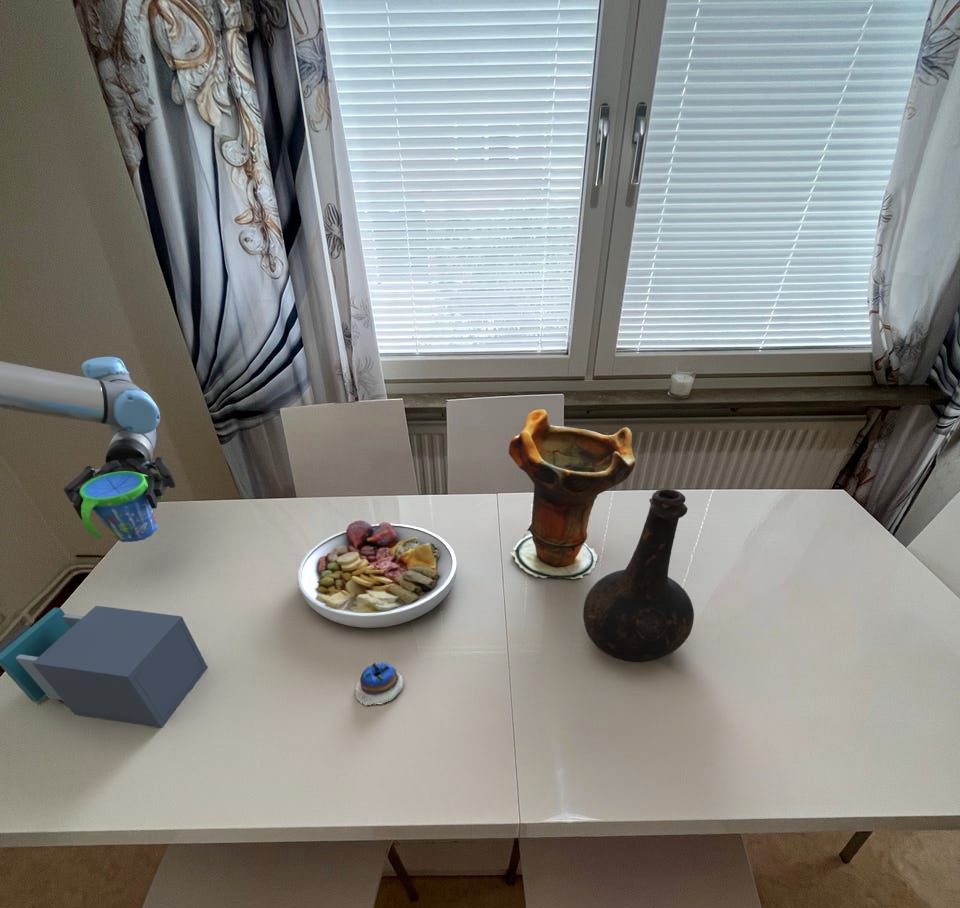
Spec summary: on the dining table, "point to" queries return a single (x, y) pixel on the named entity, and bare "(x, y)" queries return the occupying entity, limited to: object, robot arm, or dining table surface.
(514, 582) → the dining table surface
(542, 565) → the decorative vase
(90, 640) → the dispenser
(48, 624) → the drawer
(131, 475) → the snack cup
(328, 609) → the bowl
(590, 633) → the glass bottle
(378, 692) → the dessert
